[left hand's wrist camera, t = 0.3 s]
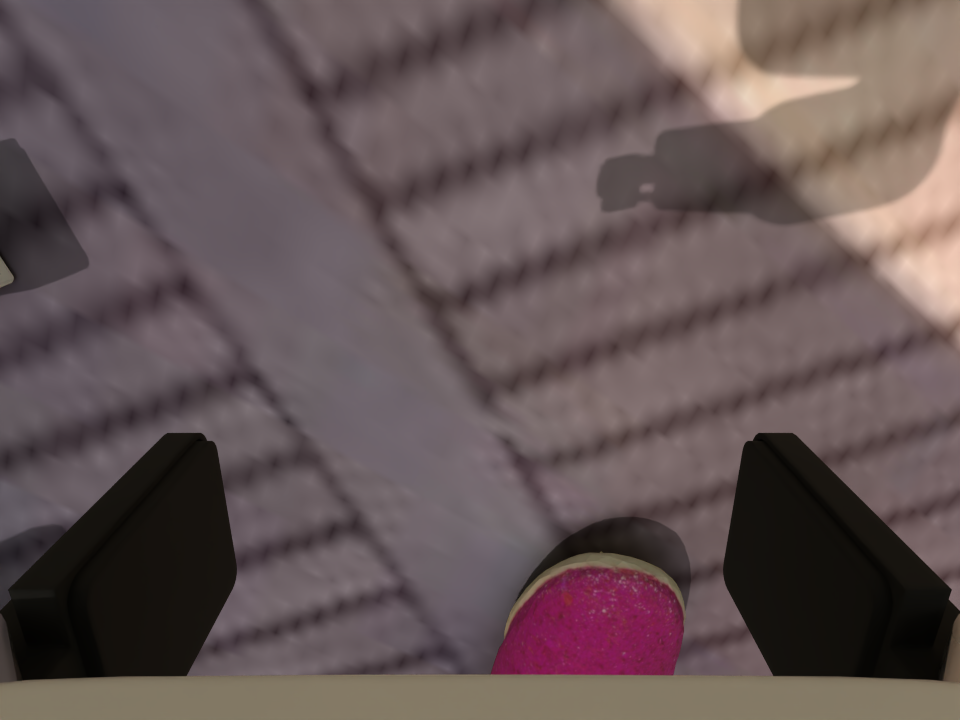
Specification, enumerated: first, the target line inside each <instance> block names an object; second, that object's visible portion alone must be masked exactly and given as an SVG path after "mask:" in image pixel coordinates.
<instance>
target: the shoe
mask: <svg viewBox="0 0 960 720" xmlns="http://www.w3.org/2000/svg"><path fill="white" fill-rule="evenodd" d="M685 618H686V614H685V606H684V601H683V598H682V595H681V591H680V590H679V588H678V586H677V584H676V583H675V581H674V580H673V579H672V578H671V577H670V576H669V575H667V574H666V573H665V572H664V571H663V570H662V569H660V568H658V567H656V566H654V565H652V564H650V563H647V562H645V561H642V560H639V559H636V558H633V557H630V556H625V555H619V554H614V553H603V552H602V551H601V552H600V553H584V554H579V555H576V556H573V557H570V558H568V559H566V560H564V561H561V562H559V563H558V564H556V565H554V566H552V567H551V568H549V569H547V570H545V571H544V572H543V573H542V574H540V575H539V576H538V577H537V578H536V579H535V580H534V581H533V582H532V583H531V584H530V585H529V586H528V587H527V588H526V589H525V591H524V592H523V593H522V595H521V596H520V597H519V599H518V600H517V601H516V603H515V604H514V606H513V608H512V610H511V612H510V615H509V617H508V620H507V623H506V627H505V632H504V641H503V643H502V645H501V646H500V648H499V651H498V653H497V656H496V659H495V662H494V665H493V668H492V672H491V675H673V674H674V669H675V665H676V661H677V659H678V656H679V652H680V649H681V644H682V639H683V633H684V622H685Z"/></svg>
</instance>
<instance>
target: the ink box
mask: <svg viewBox="0 0 960 720" xmlns="http://www.w3.org/2000/svg"><path fill="white" fill-rule="evenodd" d="M13 280H14V277H13V275H12V273H11V272H10V270H9V269H8V267H7V266H6V264H5V263H4V261H3V260H2V258H1V257H0V288H1V287H3V286H5V285H8V284H10V283H12V282H13Z"/></svg>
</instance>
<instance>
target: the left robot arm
mask: <svg viewBox="0 0 960 720" xmlns="http://www.w3.org/2000/svg"><path fill="white" fill-rule="evenodd" d="M236 575H237V565H236V559H235V553H234V547H233V541H232V535H231V529H230V523H229V517H228V511H227V505H226V499H225V493H224V487H223V481H222V475H221V470H220V464H219V458H218V452H217V447H216V445H215V443H214V442H213V441H207V439H206V438H205V436H204V435H203V434H202V433H167V434H165V435H164V436H163V437H162V438H161V439H160V440H159V441H158V442H157V443H156V444H155V445H154V446H153V447H152V448H151V449H150V450H149V451H148V452H147V453H146V454H145V455H144V456H143V457H142V458H141V459H140V460H139V461H138V462H137V463H136V464H135V465H134V466H133V467H132V468H130V469H129V470H128V471H127V472H126V473H125V474H124V475H123V476H122V477H121V478H120V479H119V480H118V481H117V482H116V483H115V484H114V485H113V486H112V487H111V488H110V489H109V490H108V491H107V492H106V493H105V494H104V495H103V496H102V497H101V498H100V499H99V500H98V501H97V502H96V503H95V504H94V505H93V506H92V507H91V508H90V509H89V510H88V511H87V512H86V513H85V514H84V515H83V516H82V517H81V518H80V519H79V520H78V521H77V522H76V523H75V524H74V525H73V526H72V527H71V528H70V529H69V530H68V531H67V532H66V533H65V534H64V535H63V536H62V537H61V538H60V539H59V540H58V541H57V542H56V543H55V544H54V545H53V546H52V547H51V548H50V549H49V550H48V551H47V552H46V553H45V554H44V555H43V556H42V557H41V558H40V559H39V560H38V561H37V562H36V563H35V564H34V565H33V566H32V567H31V568H30V569H29V570H28V571H27V572H26V573H25V574H24V575H23V576H22V577H21V578H20V579H19V580H18V581H17V582H15V583H14V584H13V585H12V586H11V587H10V588H9V589H8V590H9V593H10V596H11V600H10V601H9V602H8V603H7V605H6V606H5V607H4V608H3V609H2V610H1V611H0V720H960V611H959V610H958V609H957V608H956V607H955V606H954V605H953V603H952V602H951V601H950V600H949V596H950V593H951V590H952V589H951V588H950V587H949V586H948V585H947V584H946V583H945V582H943V581H942V580H941V579H940V578H939V577H938V576H937V575H936V574H935V573H934V572H933V571H932V570H931V569H930V568H929V567H928V566H927V565H926V564H925V563H924V562H923V561H922V560H921V559H920V558H919V557H918V556H917V555H916V554H915V553H914V552H913V551H912V550H911V549H910V548H909V547H908V546H907V545H906V544H905V543H904V542H903V541H902V540H901V539H900V538H899V537H898V536H897V535H896V534H895V533H894V532H893V531H892V530H891V529H890V528H889V527H888V526H887V525H886V524H885V523H884V522H883V521H882V520H881V519H880V518H879V517H878V516H877V515H876V514H875V513H874V512H873V511H872V510H871V509H870V508H869V507H868V506H867V505H866V504H865V503H864V502H863V501H862V500H861V499H860V498H859V497H858V496H857V495H856V494H855V493H854V492H853V491H852V490H851V489H850V488H849V487H848V486H847V485H846V484H845V483H844V482H843V481H842V480H841V479H840V478H839V477H838V476H837V475H836V474H835V473H834V472H833V471H832V470H831V469H830V468H828V467H827V466H826V465H825V464H824V463H823V462H822V461H821V460H820V459H819V458H818V457H817V456H816V455H815V454H814V453H813V452H812V451H811V450H810V449H809V448H808V447H807V446H806V445H805V444H804V443H803V442H802V441H801V440H800V439H799V438H798V437H797V436H796V435H795V434H793V433H758V434H757V435H756V436H755V438H754V439H753V441H747V442H746V443H745V445H744V447H743V452H742V458H741V464H740V470H739V475H738V481H737V487H736V493H735V499H734V505H733V511H732V517H731V523H730V529H729V535H728V541H727V547H726V553H725V559H724V565H723V575H724V581H725V584H726V587H727V589H728V591H729V593H730V595H731V597H732V599H733V600H734V602H735V604H736V606H737V608H738V610H739V612H740V614H741V615H742V617H743V619H744V621H745V623H746V625H747V627H748V629H749V631H750V632H751V634H752V636H753V638H754V640H755V642H756V644H757V646H758V648H759V649H760V651H761V653H762V655H763V657H764V659H765V661H766V663H767V665H768V666H769V668H770V670H771V672H772V674H773V676H695V675H269V676H187V674H188V672H189V670H190V668H191V666H192V665H193V663H194V661H195V659H196V657H197V655H198V653H199V651H200V649H201V648H202V646H203V644H204V642H205V640H206V638H207V636H208V634H209V632H210V631H211V629H212V627H213V625H214V623H215V621H216V619H217V617H218V615H219V614H220V612H221V610H222V608H223V606H224V604H225V602H226V600H227V599H228V597H229V595H230V593H231V591H232V589H233V587H234V584H235V581H236Z"/></svg>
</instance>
